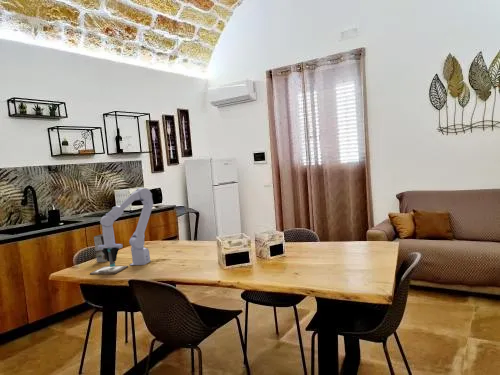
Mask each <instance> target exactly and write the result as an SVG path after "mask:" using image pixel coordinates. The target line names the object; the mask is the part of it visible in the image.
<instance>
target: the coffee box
mask: <svg viewBox="0 0 500 375" xmlns="http://www.w3.org/2000/svg"><path fill="white" fill-rule="evenodd" d="M93 241H94V250H95V251H94V252H95V258H96V262H97V263H105V262H108V261H107V258H106V256H105V255H104V253H103V252H102V250H103V249H98V246H99V245H104V239H103V233H101V234H98V235H95V236H93Z"/></svg>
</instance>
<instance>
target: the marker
mask: <svg viewBox="0 0 500 375" xmlns="http://www.w3.org/2000/svg"><path fill="white" fill-rule="evenodd" d="M111 249H112V248H109V249H108V255H109V262H108V263H109V266H110V267H114V266H116V261H114V262H113V259H112V254H111V252H110V250H111Z"/></svg>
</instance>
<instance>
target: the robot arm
mask: <svg viewBox="0 0 500 375" xmlns="http://www.w3.org/2000/svg"><path fill="white" fill-rule="evenodd" d="M135 201H141V204H142V205H143V206H142V209H141V213H140V215H139V219H138V222H137V224H136V228H135V231H134V232H133V234H132V235H131V237H130V238H129V241H128V242H129V245H130V246H131V247H130V251H131V252H130V253H131V258H132V263H130V264H129V266H145V265H147V264H148V263H150V262H152V260H151V257H150V254H151V253H150V250H149V248H147V247H145V232H146V229H147V226H148V223H149V219H150V216H151V213H152V210H153V208H154V207H153V206H154V200H153V193H152V192H151V190H150V189H149V188H146V187H138V188H137V189H136V190H134V191H133V192H131V193H130V195H129V196H128V197H127V198H125V199H124V200H123V201H122V203H121V204H119V205H115V206H113V207H111V210H110V211H108V212H106V213H105V215H103V216H102V217H101V218H100V221H99V223H100V225H101V228H102V229H101V232H102V234H103V239H104V245H99V246H98V249H103V250H102V252H103V253H104V255H105V256H106V258H107V261H106V262H108V263H109V255H108V249H109V248H112V249H111V250H110V252H111V254H112V259H113V262H114V261H115V262H116V261H117V257H118V253H119V250H120V249H123V243H116V238H115V232H114V226H113V225H114V222H116V220H117V219H119V218H120V217H121V216H122V215H123V214H124V210H125V209H126V208H128V207H129V206H130V205H131V204H132V203H133V202H135Z"/></svg>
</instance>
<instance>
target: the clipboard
mask: <svg viewBox="0 0 500 375" xmlns="http://www.w3.org/2000/svg"><path fill="white" fill-rule="evenodd" d="M128 268H129V265H115V266H114V267H110V265H109V266H107V265H106V266H105V265H104V266H102V267H100V268H97V269H95V270H93V271H92V272H90V273H89V275H94V274H95V275H116V274H118V273H120V272H122V271H124V270H126V269H128Z"/></svg>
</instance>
